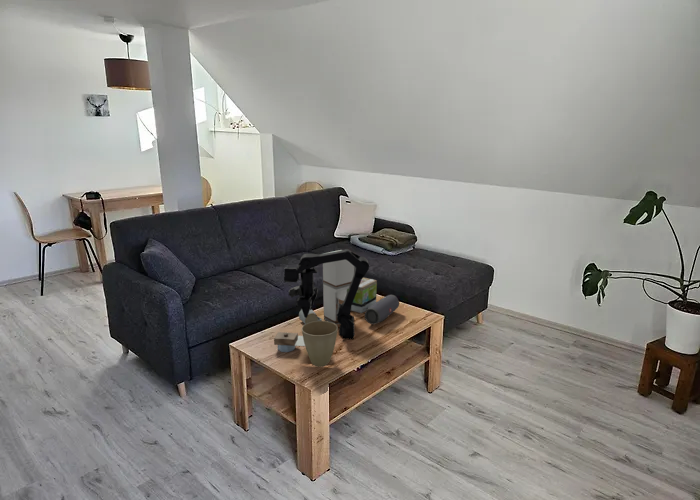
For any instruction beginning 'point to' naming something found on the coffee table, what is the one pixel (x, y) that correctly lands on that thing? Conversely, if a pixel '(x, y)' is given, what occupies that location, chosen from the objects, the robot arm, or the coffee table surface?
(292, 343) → the lid
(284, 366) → the coffee table surface
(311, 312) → the ceramic mug
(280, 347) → the bowl
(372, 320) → the bluetooth speaker
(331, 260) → the robot arm
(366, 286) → the tea box
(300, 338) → the mat
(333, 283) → the tall grey upright box
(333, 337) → the plant pot
